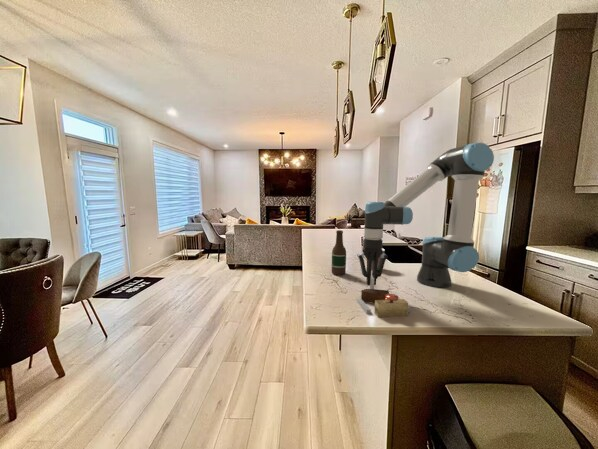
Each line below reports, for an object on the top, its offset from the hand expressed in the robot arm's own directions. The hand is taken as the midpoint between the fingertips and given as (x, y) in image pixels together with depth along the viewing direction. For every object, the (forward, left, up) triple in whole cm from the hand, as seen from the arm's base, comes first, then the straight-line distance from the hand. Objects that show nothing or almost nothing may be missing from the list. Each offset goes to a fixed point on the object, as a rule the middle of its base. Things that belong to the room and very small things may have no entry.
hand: (370, 292), depth 108 cm
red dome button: (0, +18, -1) cm, 18 cm away
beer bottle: (+6, -31, -2) cm, 32 cm away
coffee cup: (-18, -38, -2) cm, 42 cm away
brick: (+1, +6, -2) cm, 7 cm away
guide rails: (0, +12, -1) cm, 12 cm away
